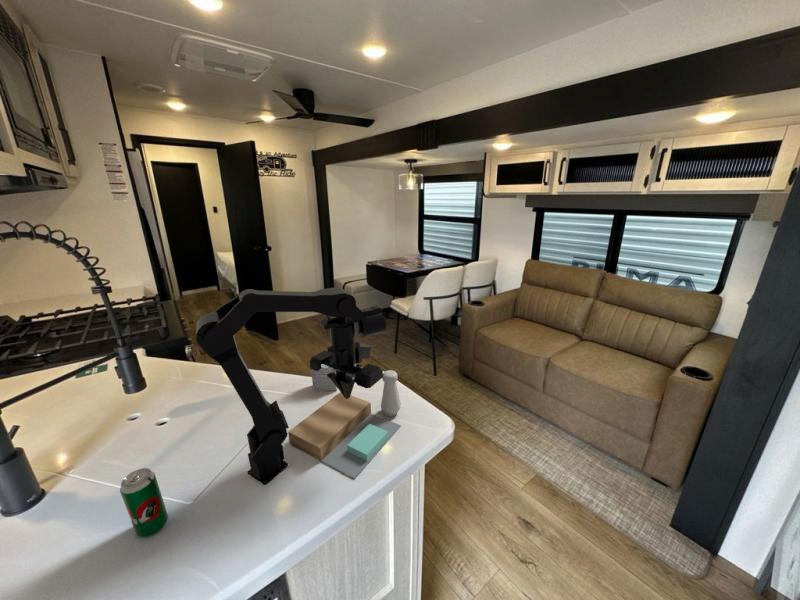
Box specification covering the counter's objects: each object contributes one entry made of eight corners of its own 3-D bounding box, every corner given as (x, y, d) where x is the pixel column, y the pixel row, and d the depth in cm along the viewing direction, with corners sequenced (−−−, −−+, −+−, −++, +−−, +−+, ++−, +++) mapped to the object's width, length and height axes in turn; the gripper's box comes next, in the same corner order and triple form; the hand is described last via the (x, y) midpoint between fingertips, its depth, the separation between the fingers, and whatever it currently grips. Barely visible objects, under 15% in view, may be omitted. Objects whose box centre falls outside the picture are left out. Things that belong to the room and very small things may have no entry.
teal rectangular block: (347, 445, 77) (347, 451, 78) (366, 454, 74) (367, 461, 75) (369, 423, 85) (369, 429, 85) (388, 431, 82) (388, 438, 82)
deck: (321, 461, 76) (320, 448, 74) (290, 444, 81) (288, 431, 80) (371, 414, 92) (370, 402, 91) (342, 402, 97) (341, 391, 96)
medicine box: (340, 384, 107) (338, 361, 105) (336, 391, 103) (334, 368, 100) (317, 383, 108) (315, 360, 105) (313, 390, 104) (310, 367, 101)
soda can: (174, 513, 64) (160, 465, 60) (157, 538, 59) (140, 489, 55) (149, 514, 64) (132, 466, 60) (129, 540, 59) (110, 490, 55)
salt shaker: (403, 415, 91) (403, 375, 87) (385, 420, 89) (383, 380, 85) (396, 404, 96) (395, 365, 92) (378, 408, 94) (376, 370, 90)
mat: (354, 479, 71) (354, 478, 71) (321, 461, 76) (321, 460, 76) (400, 426, 87) (400, 425, 87) (371, 414, 92) (371, 413, 92)
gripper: (394, 336, 77) (395, 392, 82) (336, 322, 86) (340, 373, 91) (366, 355, 68) (370, 417, 73) (305, 337, 77) (311, 393, 82)
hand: (347, 397), depth 80 cm, fingers closed
